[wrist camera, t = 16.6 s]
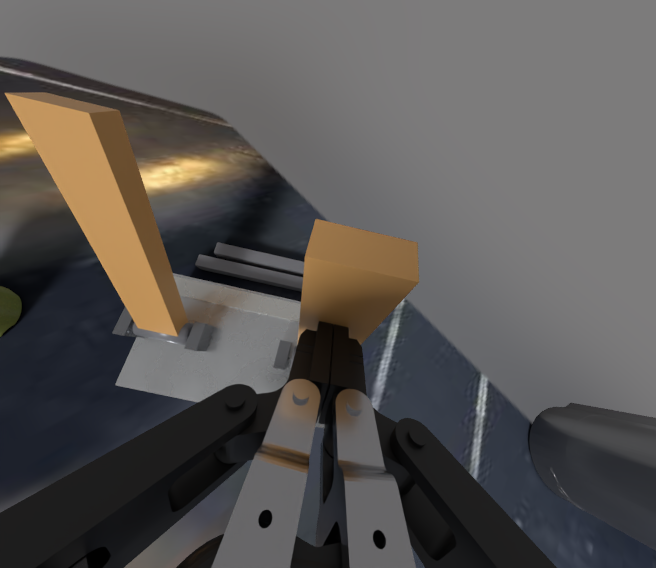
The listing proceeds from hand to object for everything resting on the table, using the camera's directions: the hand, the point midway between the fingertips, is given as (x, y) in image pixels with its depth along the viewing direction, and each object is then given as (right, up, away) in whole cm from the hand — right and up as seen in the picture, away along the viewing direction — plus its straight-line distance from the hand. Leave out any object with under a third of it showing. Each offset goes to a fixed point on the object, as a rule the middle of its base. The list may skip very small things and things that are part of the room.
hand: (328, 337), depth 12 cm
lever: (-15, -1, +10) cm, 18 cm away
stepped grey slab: (-7, +4, +18) cm, 19 cm away
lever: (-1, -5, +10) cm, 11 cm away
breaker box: (-8, -5, +15) cm, 18 cm away
